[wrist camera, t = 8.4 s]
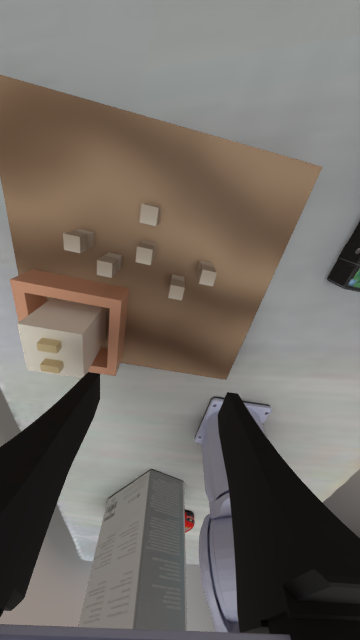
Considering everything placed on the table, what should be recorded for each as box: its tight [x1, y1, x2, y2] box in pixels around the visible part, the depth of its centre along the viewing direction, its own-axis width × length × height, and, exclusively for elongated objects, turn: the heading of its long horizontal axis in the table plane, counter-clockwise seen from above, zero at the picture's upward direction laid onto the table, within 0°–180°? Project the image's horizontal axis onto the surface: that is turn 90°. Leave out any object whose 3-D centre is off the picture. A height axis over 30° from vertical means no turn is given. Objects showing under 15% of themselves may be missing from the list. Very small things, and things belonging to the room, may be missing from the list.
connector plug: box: [17, 298, 107, 378], centre depth 16 cm, size 4×4×6 cm
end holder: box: [10, 269, 129, 376], centre depth 17 cm, size 8×8×2 cm
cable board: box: [0, 75, 322, 380], centre depth 16 cm, size 19×20×4 cm
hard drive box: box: [78, 470, 187, 631], centre depth 30 cm, size 16×8×20 cm, turn 142°
